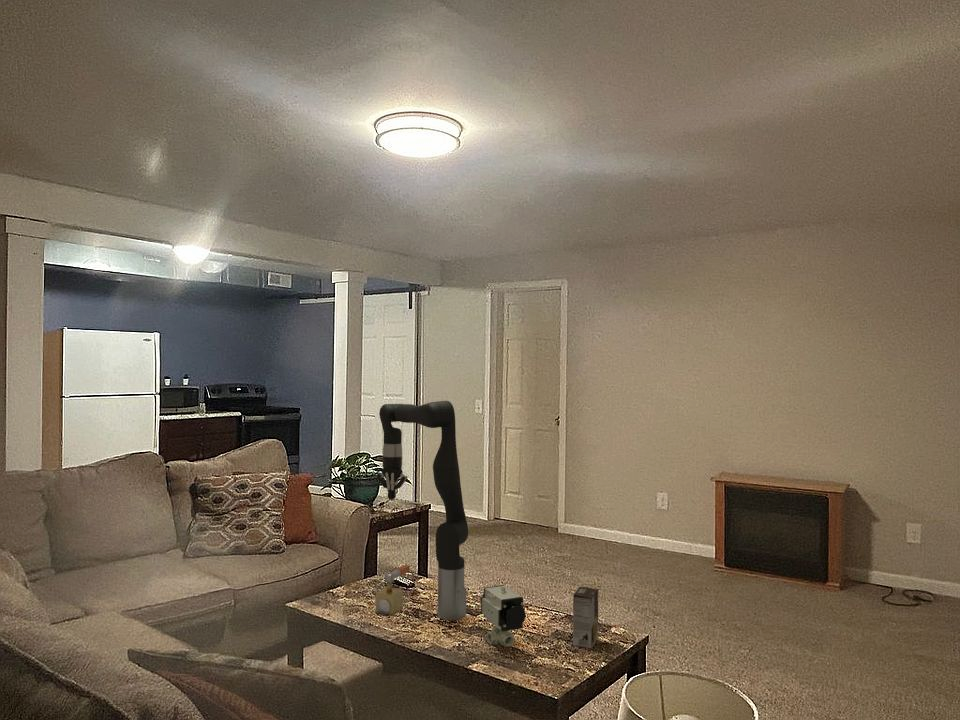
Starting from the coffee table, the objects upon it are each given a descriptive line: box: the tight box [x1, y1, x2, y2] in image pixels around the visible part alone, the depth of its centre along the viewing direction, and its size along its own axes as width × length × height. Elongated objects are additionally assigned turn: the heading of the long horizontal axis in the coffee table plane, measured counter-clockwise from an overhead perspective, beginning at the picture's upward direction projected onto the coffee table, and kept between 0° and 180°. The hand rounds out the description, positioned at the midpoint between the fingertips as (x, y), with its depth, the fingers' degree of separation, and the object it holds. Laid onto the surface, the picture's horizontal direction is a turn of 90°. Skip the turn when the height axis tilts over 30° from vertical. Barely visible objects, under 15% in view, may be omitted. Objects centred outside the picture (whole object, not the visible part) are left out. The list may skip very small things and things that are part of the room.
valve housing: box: [374, 582, 404, 616], centre depth 253 cm, size 7×9×10 cm
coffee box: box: [572, 586, 599, 649], centre depth 227 cm, size 9×6×16 cm
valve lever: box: [384, 564, 411, 583], centre depth 258 cm, size 15×3×2 cm, turn 158°
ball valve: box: [480, 584, 526, 648], centre depth 225 cm, size 18×8×18 cm, turn 25°
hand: (391, 499), depth 277 cm, fingers closed
